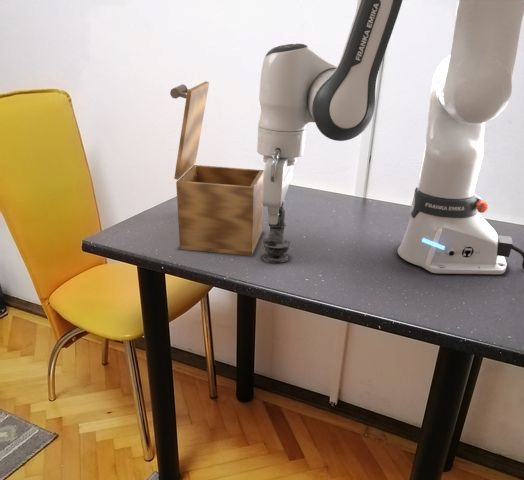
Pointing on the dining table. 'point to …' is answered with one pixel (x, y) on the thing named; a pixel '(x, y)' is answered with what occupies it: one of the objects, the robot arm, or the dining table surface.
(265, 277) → the dining table surface
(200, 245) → the chest
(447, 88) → the robot arm
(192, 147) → the lid
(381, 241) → the dining table surface
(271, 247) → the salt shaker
